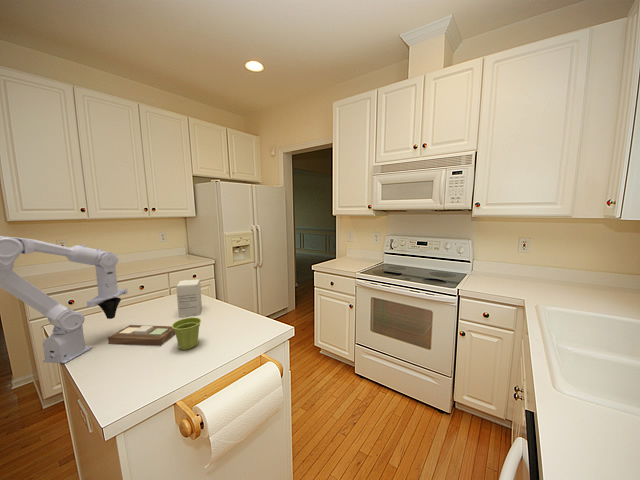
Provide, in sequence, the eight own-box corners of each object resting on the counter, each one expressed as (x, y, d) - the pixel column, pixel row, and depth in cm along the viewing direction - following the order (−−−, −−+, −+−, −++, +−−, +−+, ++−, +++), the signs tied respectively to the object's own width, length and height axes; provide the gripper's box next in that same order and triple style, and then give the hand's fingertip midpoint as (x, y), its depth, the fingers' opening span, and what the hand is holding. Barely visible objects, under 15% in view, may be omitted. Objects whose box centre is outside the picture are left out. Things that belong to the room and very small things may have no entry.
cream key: (130, 339, 97) (129, 333, 96) (119, 339, 97) (118, 332, 97) (139, 333, 101) (139, 327, 101) (129, 333, 101) (128, 327, 101)
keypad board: (160, 345, 93) (159, 339, 92) (108, 343, 94) (107, 337, 94) (177, 332, 103) (177, 326, 102) (130, 330, 104) (130, 324, 104)
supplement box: (182, 310, 125) (179, 280, 123) (202, 308, 128) (200, 278, 126) (178, 317, 116) (175, 285, 114) (199, 315, 119) (197, 284, 117)
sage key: (160, 340, 96) (160, 334, 95) (149, 340, 96) (149, 333, 96) (168, 334, 100) (168, 328, 100) (157, 334, 100) (157, 328, 100)
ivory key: (145, 337, 96) (144, 331, 96) (134, 337, 96) (133, 331, 96) (153, 332, 100) (153, 326, 100) (143, 331, 101) (142, 325, 100)
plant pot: (170, 354, 87) (168, 330, 86) (177, 340, 96) (175, 318, 95) (200, 350, 90) (198, 327, 89) (204, 337, 99) (203, 315, 98)
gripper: (98, 289, 89) (102, 327, 90) (133, 278, 103) (136, 310, 105) (80, 289, 89) (84, 326, 91) (116, 277, 104) (120, 310, 105)
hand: (110, 318), depth 98 cm, fingers closed
